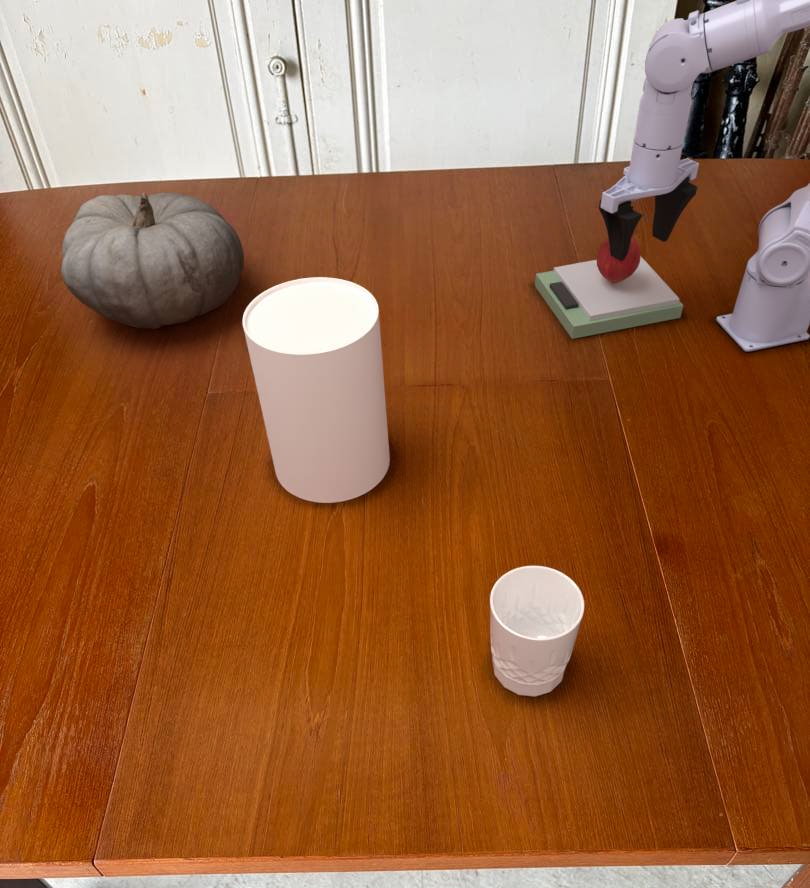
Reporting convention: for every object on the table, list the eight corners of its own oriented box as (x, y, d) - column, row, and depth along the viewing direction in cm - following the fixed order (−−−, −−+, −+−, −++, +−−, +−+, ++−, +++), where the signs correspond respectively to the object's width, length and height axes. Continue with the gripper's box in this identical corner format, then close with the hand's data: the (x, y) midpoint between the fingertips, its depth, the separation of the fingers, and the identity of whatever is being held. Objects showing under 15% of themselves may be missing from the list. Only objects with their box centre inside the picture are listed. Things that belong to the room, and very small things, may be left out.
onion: (634, 295, 111) (645, 240, 105) (592, 292, 112) (600, 237, 106) (635, 272, 115) (646, 218, 109) (594, 270, 116) (602, 216, 110)
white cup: (480, 635, 79) (483, 569, 71) (561, 627, 79) (572, 561, 71) (493, 706, 73) (498, 644, 66) (579, 698, 74) (594, 635, 66)
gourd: (121, 366, 105) (79, 229, 95) (51, 317, 121) (8, 195, 111) (282, 309, 117) (261, 182, 107) (199, 271, 133) (173, 157, 123)
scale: (635, 267, 121) (638, 249, 119) (680, 317, 112) (684, 300, 110) (534, 286, 119) (536, 268, 117) (572, 339, 110) (574, 321, 108)
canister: (301, 518, 90) (271, 370, 75) (258, 447, 98) (223, 301, 83) (409, 476, 94) (402, 327, 79) (359, 410, 102) (344, 264, 87)
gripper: (676, 113, 101) (656, 218, 111) (589, 146, 96) (576, 253, 106) (721, 131, 97) (695, 239, 107) (632, 166, 92) (614, 275, 102)
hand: (638, 247), depth 106 cm, fingers open, 7 cm apart
